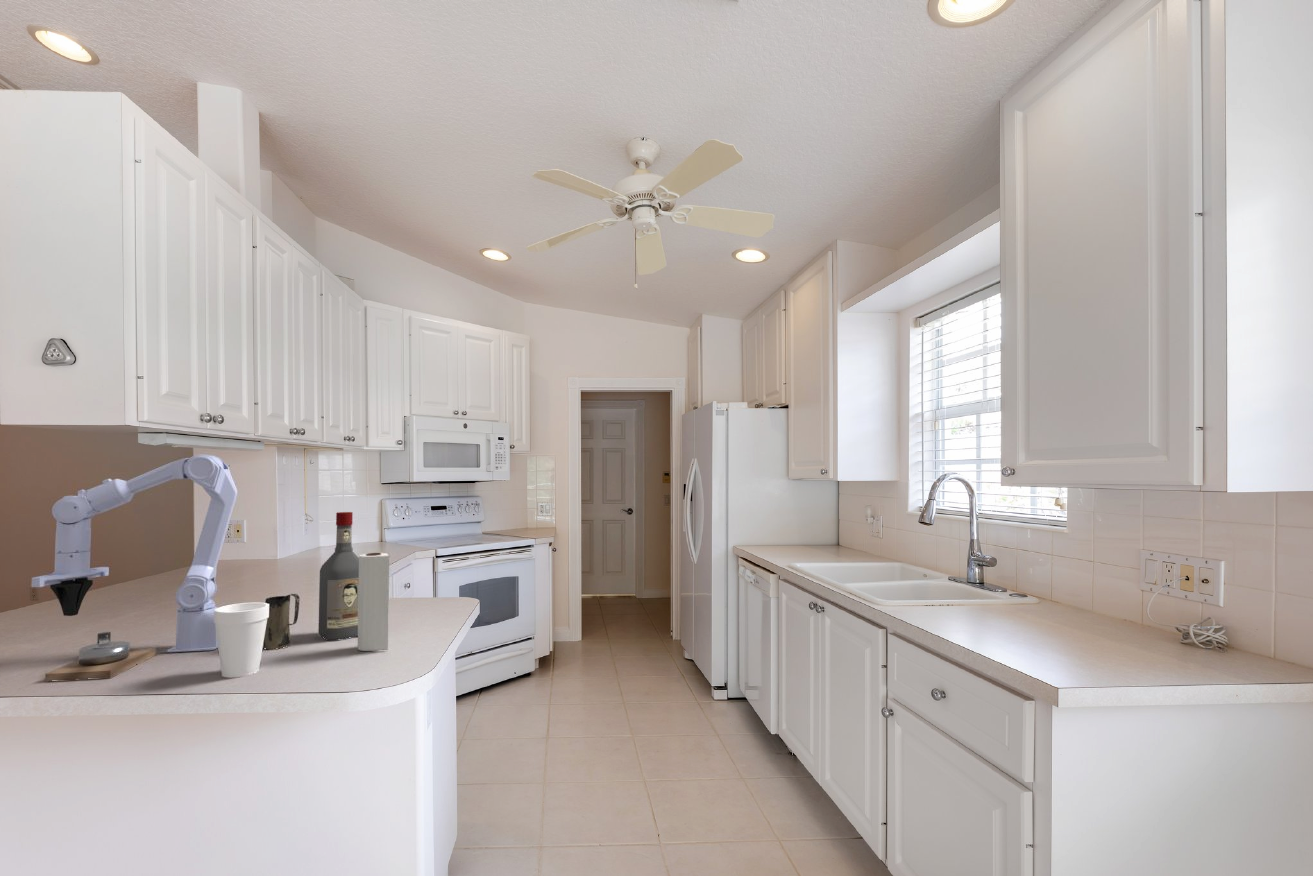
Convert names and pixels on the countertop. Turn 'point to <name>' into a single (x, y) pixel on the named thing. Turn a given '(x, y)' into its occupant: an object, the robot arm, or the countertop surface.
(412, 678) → the countertop surface
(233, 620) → the foam cup
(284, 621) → the mug
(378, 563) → the paper towel roll
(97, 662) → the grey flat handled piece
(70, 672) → the wooden board
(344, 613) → the liquor
